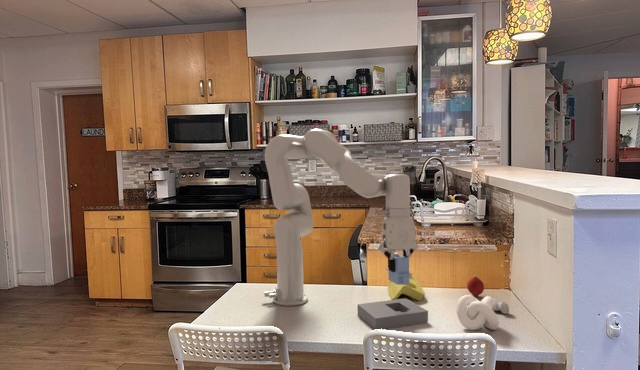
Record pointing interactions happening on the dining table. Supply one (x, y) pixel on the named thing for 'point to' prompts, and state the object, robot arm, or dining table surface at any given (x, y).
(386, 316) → the grey flat block
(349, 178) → the robot arm
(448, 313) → the dining table surface
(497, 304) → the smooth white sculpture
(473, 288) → the onion
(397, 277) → the block
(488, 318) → the white knot
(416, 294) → the plastic component
